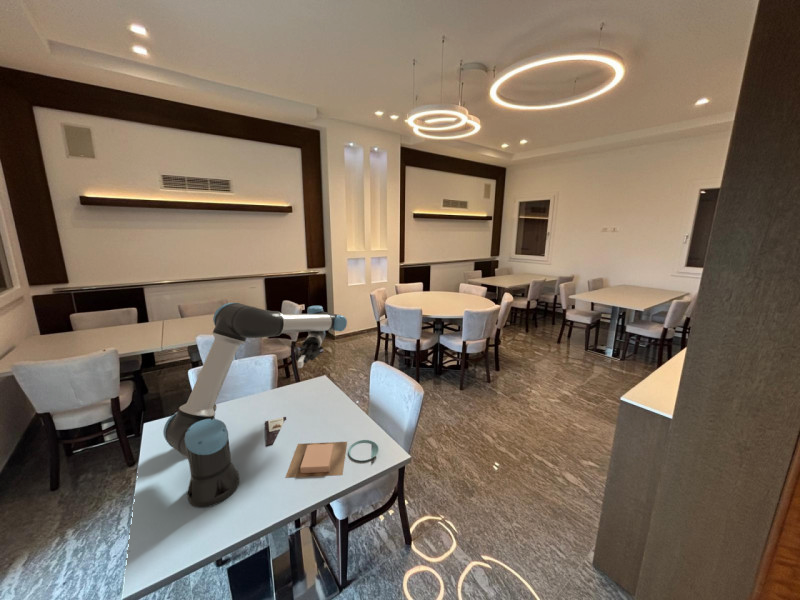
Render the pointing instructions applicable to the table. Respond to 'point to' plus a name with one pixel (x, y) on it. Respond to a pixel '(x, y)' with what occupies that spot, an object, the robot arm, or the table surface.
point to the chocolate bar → (273, 429)
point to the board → (335, 469)
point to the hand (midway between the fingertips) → (299, 364)
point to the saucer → (373, 448)
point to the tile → (317, 458)
